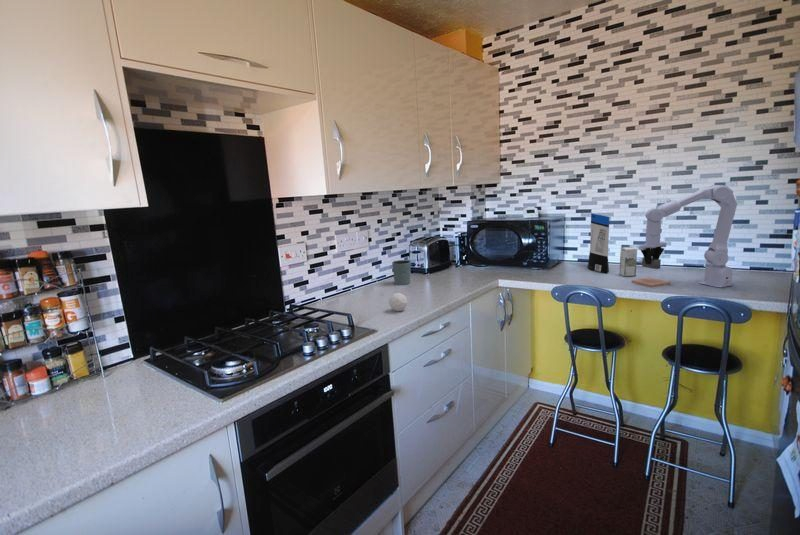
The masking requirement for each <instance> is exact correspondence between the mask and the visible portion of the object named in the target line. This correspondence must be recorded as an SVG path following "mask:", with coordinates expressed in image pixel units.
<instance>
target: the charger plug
mask: <svg viewBox="0 0 800 535" xmlns="http://www.w3.org/2000/svg"><path fill="white" fill-rule="evenodd" d="M661 262H662V259H660V258H659V259H655V258H652V259H651V264H650V265H649V264H646V263H645V259H644V257H642V258H641V259H640V260H638V263H640V264H641V267H643V268H648V269H655V270H660V269H661Z"/></svg>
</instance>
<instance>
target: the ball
mask: <svg viewBox="0 0 800 535" xmlns="http://www.w3.org/2000/svg"><path fill="white" fill-rule="evenodd" d="M388 304H389V306H390V308H391V310H393V311H395V312H400V311H401V312H402V311H403V310H405V309H406V308H407V306H408V298H407V297H406V295H404V294H403V293H401V292H397V293H393V295H391V296H390V298H389V300H388Z"/></svg>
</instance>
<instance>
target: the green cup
mask: <svg viewBox="0 0 800 535" xmlns="http://www.w3.org/2000/svg"><path fill="white" fill-rule="evenodd" d="M391 262H392V271H393V279H394V282H393V283H394V284H395V285H396V286H406V285H410V284H411V268H412V267H411V266H412V263H411V262H412V261H411V260H407V259H400V260H399V259H398V260H394V261H391Z"/></svg>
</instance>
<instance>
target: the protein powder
mask: <svg viewBox="0 0 800 535" xmlns="http://www.w3.org/2000/svg"><path fill="white" fill-rule="evenodd" d="M590 215H591V216H590V241H589V242H590V244H589V245H590V246H589V247H590V248H589V255H588V263H587V269H588V270H589V271H592V272H595V273H600V274H606V275H608V274H609V273H610V269H609V268H610V267H609V240H610V239H609V238H610V236H609V235H610V234H609V233H610V216H606V215H601V214H598V213H597V214H596V213H590Z"/></svg>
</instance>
